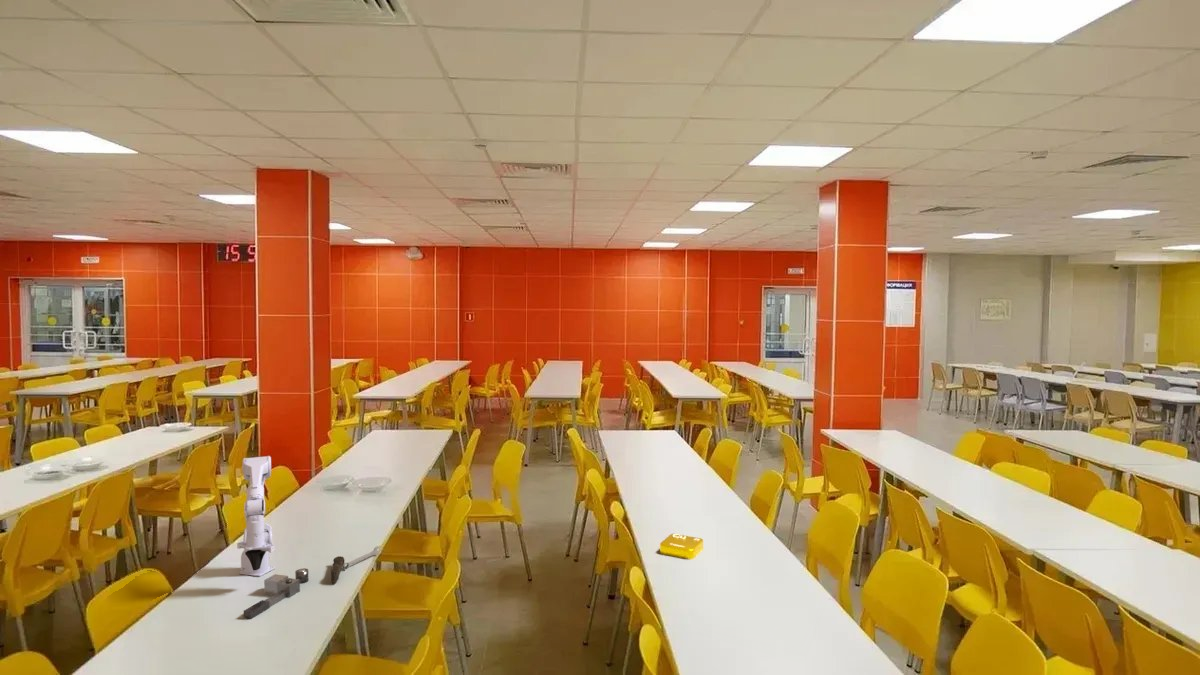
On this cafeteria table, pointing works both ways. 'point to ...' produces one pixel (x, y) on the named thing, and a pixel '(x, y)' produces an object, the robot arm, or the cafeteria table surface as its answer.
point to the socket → (302, 575)
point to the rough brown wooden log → (336, 568)
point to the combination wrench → (362, 558)
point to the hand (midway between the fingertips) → (256, 569)
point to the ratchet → (274, 597)
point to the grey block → (273, 584)
